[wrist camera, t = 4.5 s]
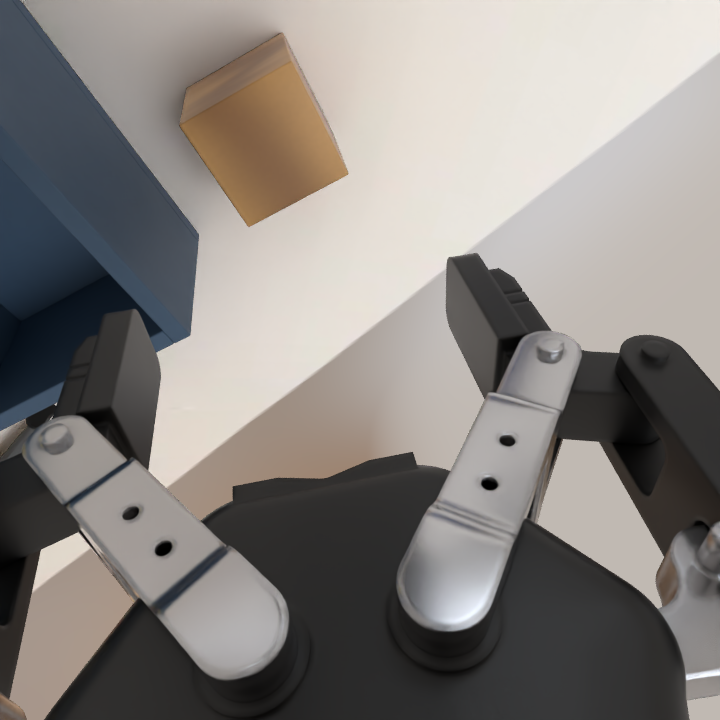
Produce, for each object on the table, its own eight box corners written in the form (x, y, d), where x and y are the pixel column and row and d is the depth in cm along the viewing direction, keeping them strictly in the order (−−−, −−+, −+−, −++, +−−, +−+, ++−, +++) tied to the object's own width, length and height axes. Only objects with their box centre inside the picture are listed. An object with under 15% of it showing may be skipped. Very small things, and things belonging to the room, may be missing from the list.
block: (282, 31, 25) (291, 60, 21) (333, 134, 28) (349, 174, 25) (186, 88, 26) (178, 125, 22) (246, 181, 29) (248, 227, 25)
